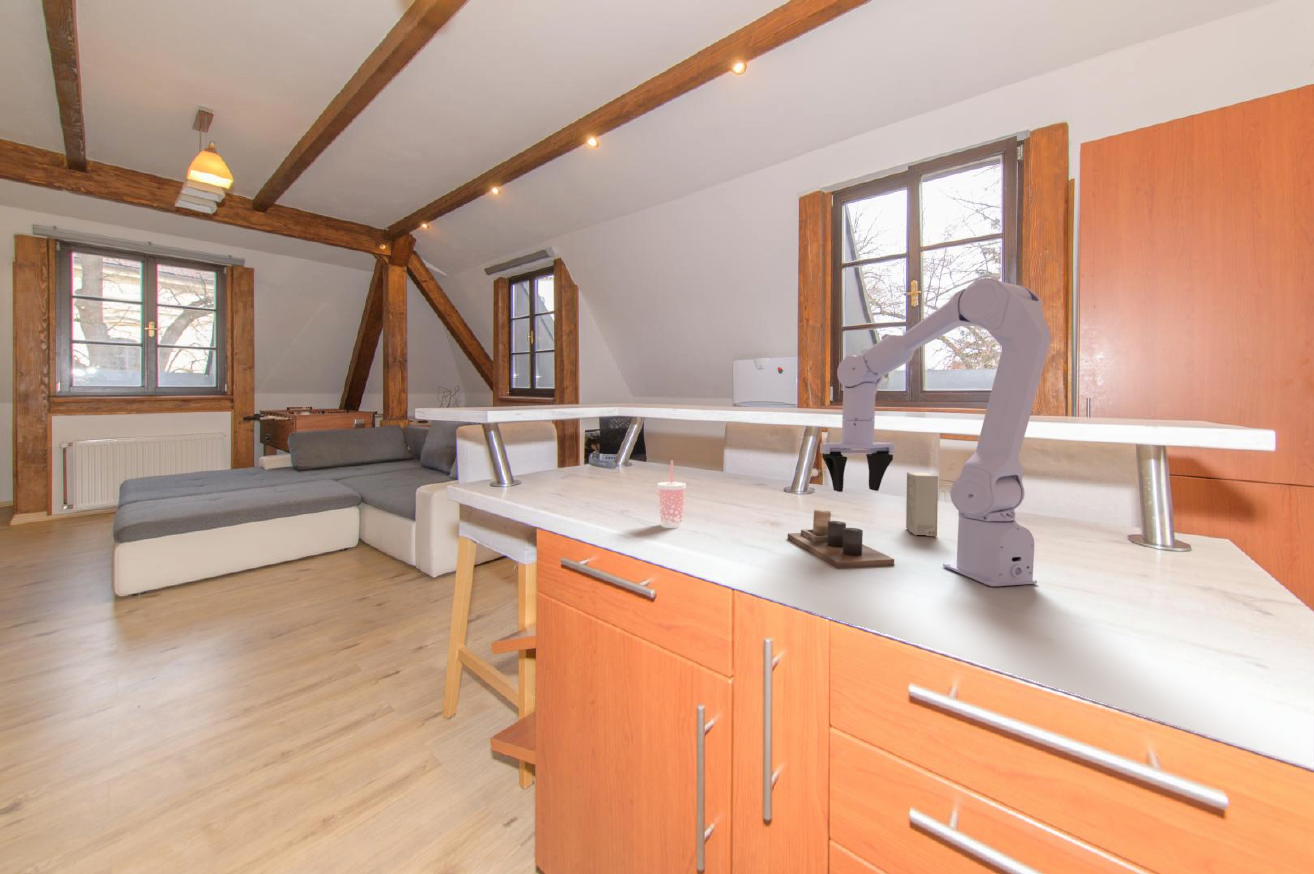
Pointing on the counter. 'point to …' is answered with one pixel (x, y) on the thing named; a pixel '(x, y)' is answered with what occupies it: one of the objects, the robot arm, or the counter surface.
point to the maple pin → (821, 522)
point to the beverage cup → (671, 502)
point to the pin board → (841, 547)
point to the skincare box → (922, 503)
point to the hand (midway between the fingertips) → (856, 490)
